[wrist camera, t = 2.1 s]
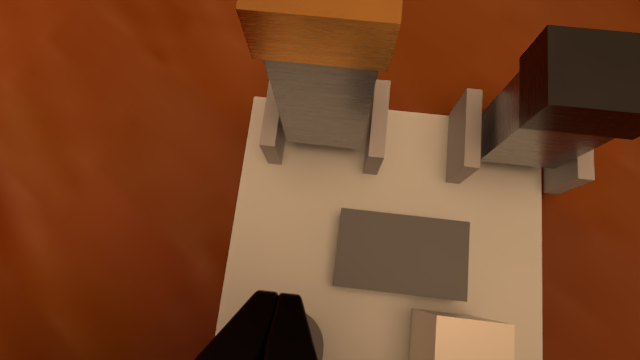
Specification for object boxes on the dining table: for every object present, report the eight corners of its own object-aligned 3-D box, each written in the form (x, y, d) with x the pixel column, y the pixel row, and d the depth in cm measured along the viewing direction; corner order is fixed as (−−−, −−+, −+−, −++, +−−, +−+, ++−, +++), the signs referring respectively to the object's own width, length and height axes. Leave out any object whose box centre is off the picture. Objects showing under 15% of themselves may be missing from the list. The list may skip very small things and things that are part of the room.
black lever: (552, 177, 18) (680, 117, 11) (469, 169, 18) (548, 104, 11) (552, 123, 18) (672, 36, 12) (470, 115, 18) (547, 25, 12)
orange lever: (363, 158, 18) (400, 23, 9) (282, 150, 18) (235, 8, 9) (368, 105, 19) (408, -74, 9) (290, 98, 19) (253, -87, 9)
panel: (548, 469, 17) (606, 518, 13) (206, 423, 17) (175, 458, 14) (546, 132, 20) (591, 100, 17) (257, 103, 21) (243, 66, 17)
